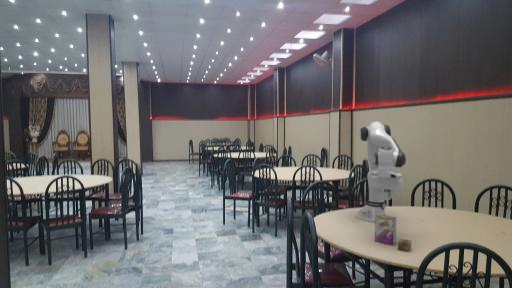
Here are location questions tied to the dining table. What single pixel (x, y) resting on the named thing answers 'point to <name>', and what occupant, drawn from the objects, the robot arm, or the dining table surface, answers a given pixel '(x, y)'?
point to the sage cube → (385, 195)
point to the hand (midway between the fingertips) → (385, 196)
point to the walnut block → (404, 245)
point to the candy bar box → (385, 229)
